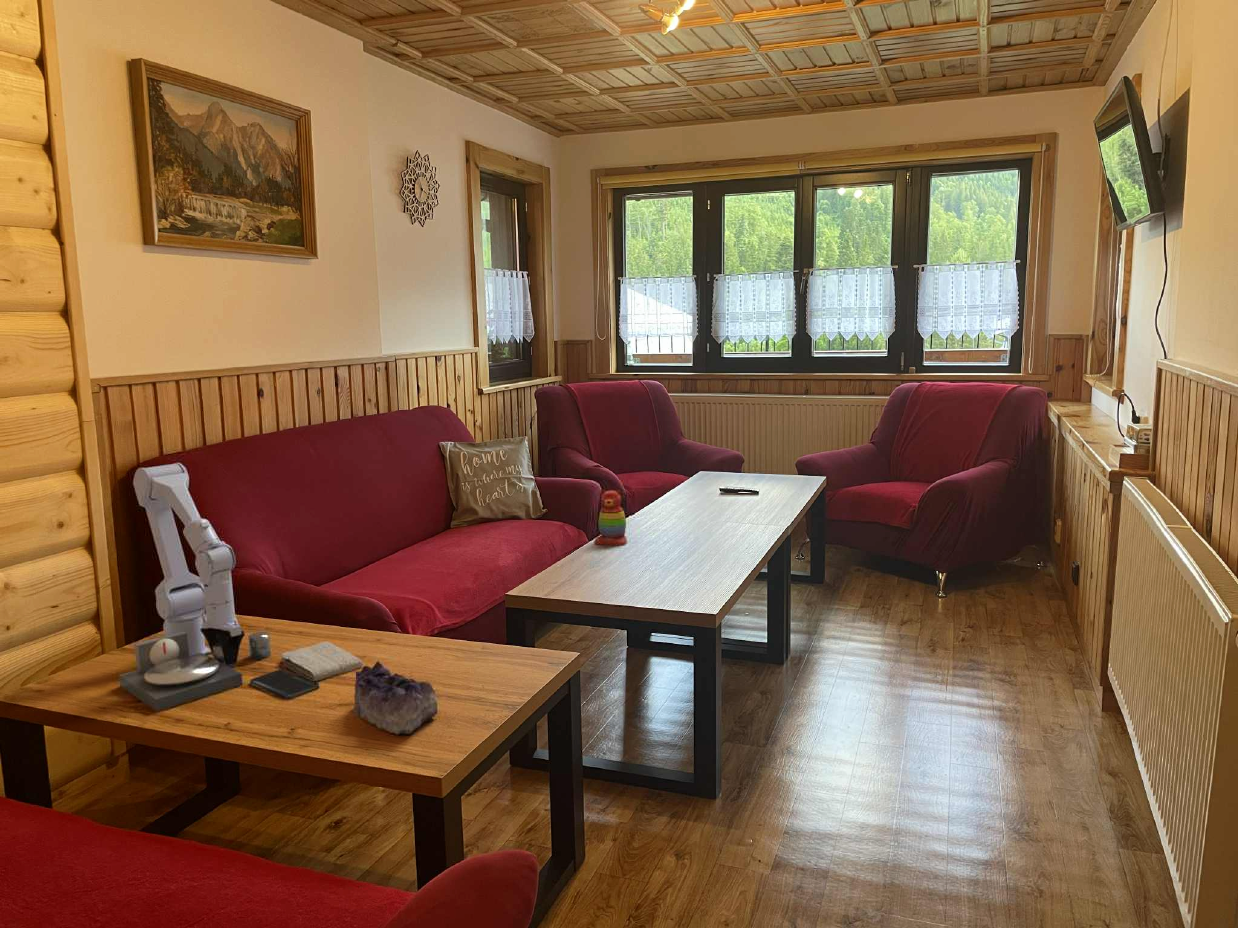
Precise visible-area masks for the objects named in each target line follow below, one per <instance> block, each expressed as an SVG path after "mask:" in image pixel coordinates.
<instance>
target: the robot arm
mask: <svg viewBox="0 0 1238 928" xmlns="http://www.w3.org/2000/svg"><path fill="white" fill-rule="evenodd" d="M133 476H134V477H133V481H132V482H133V483H132V485H133V487H134V491H135V495H136V498H137V501H138V504H139V506H140V507H143V508H145V510H146V511H145V512H146V515H147V518H148V522H149V526H150V529H151V533H152V536H153V540H154V544H155V547H156V550H157V554H158V559H159V562H160V566H161V568H162V573H163V576H164V578H163V580H162V581H160V583H159V584H158V585H157V587H156V588H155V590H154V593H155V599H156V602H155V606H156V610H157V613H158V615H159V616H160V618H162V619H163V620H164V622H163V626H162V629H163V636H166V635H170V634H174V633H178V632H182V631H184V632H186V633H187V640H188V650H189V655H193V654H196V653H200V652H201V653H203V654H205V655H207V654H210V653H211V654H212V658H214V654H213V645H215V644H217V643H220V646H221V648H222V651H223V656H224V660H225V663H226V665H230V664H233V663H236V664H237V663H238V658H239V652H240V646H241V643H242V640H243V638H244V637H245V636H246V635H245V631H244V630H242V628H241V627H242V626H241V625H240V624H239V622H238V620H237V617H236V612H235V610H236V609H235V601H234V590H233V581H232V580H233V579H232V570H233V569H234V568H235V566H236V561H237V560H236V555H235V553H234V552H235V551H234V550H233V548H232V547H231V545H229V544H227V543H226V542H225V541H224V540H221V539H220V538H219V537H218V535H217V533H216V531H215V529H214V528H213V526H212V524H211V523H210V521H209V520H208V519H205V518H202V517H201V515H200V513H199V511H198V509H197V507H196V505H195V502H194V500H193V498H192V496H191V494H190V491H189V486H190V485H189V484H190V477H189V473H188V471H187V468H186V467H185V466H184V465H183V464H182V463H181V462H176V463H172V464H164V465H158V466H151V467H139V468H137V470H135V473H134V475H133ZM173 511H174V512H175V514H176V515H177V516H178V518H179V519H180V521H181V522H182V523H183V525H184V528H183V530H182V533H183V534H182V535H184V537H185V539H186V541H187V542H188V544H189V546H190V547H191V548H190V549H191V550H192V552H193V553H194V555H195V562H194V563H195V568H196V571H197V572H198V575H199V576H198V575H196V574H194V573H192V572H190V571H189V568H188V565H187V562H186V558H185V554H184V550H183V547H182V542H181V539H180V536H179V532H178V528H177V526H176V522H175V517H174V513H173ZM180 587H184V588H180ZM177 588H178V589H177ZM174 589H175V590H174ZM205 639H206V642H207V643H208V646H209V647H207V646H206V643H205Z"/></svg>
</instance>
